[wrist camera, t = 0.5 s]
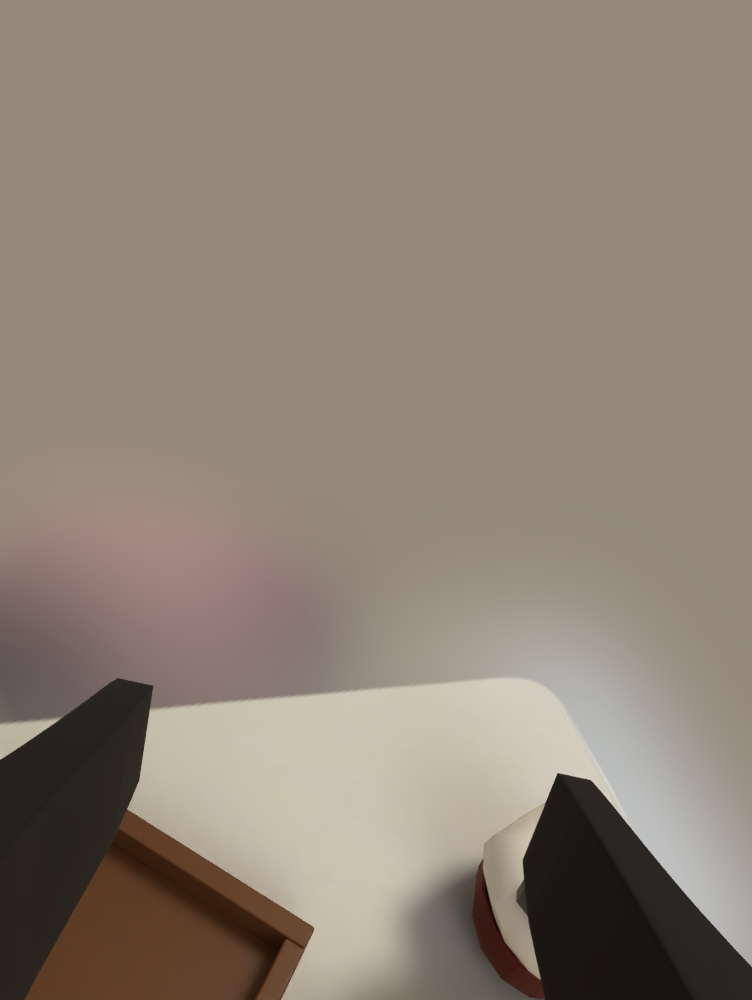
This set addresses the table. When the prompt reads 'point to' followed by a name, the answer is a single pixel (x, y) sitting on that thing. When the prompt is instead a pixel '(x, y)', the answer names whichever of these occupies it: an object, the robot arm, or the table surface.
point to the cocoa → (507, 906)
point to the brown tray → (170, 930)
